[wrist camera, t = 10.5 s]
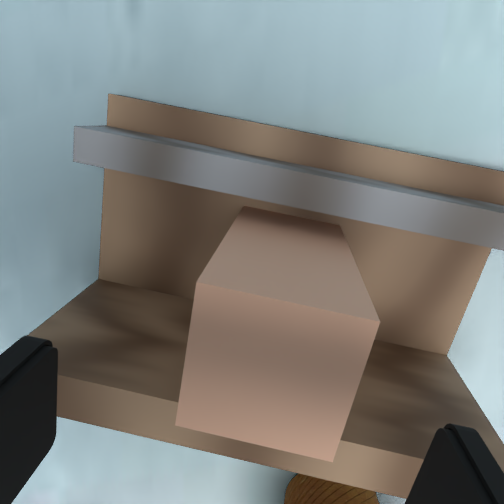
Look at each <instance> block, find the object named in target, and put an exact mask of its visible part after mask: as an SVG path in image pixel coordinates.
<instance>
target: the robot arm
mask: <svg viewBox="0 0 504 504" xmlns="http://www.w3.org/2000/svg"><path fill="white" fill-rule="evenodd" d="M57 377H58V350H57V348H54V347H53V345H52V342H51V341H50V340H47V339H42V338H37V337H32V336H24V337H22V338H20V339H19V340H18V341H17V342H16V343H14V344H13V345H12V346H11V347H9V348H8V349H7V350H6V351H5V352H3V353H2V354H1V355H0V504H11V503H12V502H13V500H14V499H15V498H16V496H17V495H18V494H19V492H20V491H21V489H22V488H23V487H24V485H25V484H26V482H27V481H28V480H29V478H30V477H31V475H32V474H33V473H34V471H35V470H36V468H37V467H38V466H39V464H40V463H41V461H42V460H43V459H44V457H45V456H46V455H47V453H48V452H49V450H50V449H51V447H52V445H53V443H54V440H55V436H56V418H57ZM405 504H504V473H503V471H502V469H501V468H500V466H499V465H498V463H497V461H496V460H495V458H494V457H493V455H492V454H491V452H490V450H489V449H488V447H487V446H486V444H485V442H484V441H483V439H482V438H481V436H480V434H479V433H478V432H477V431H476V430H475V429H473V428H470V427H465V426H460V425H456V424H451V423H449V424H446V425H445V426H444V428H439V429H438V430H437V431H436V433H435V435H434V438H433V440H432V442H431V445H430V447H429V449H428V451H427V454H426V456H425V458H424V461H423V463H422V465H421V468H420V470H419V472H418V474H417V477H416V479H415V481H414V484H413V486H412V488H411V491H410V493H409V495H408V497H407V500H406V502H405Z"/></svg>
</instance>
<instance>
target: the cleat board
mask: <svg viewBox="0 0 504 504" xmlns="http://www.w3.org/2000/svg"><path fill="white" fill-rule="evenodd" d="M73 162H78V163H83V164H87V165H92V166H97V167H102V168H104V185H103V204H102V222H101V240H100V259H99V277H98V280H96V281H95V282H94V283H93V284H91V285H90V286H89V287H88V288H86V289H85V290H84V291H83V292H81V293H80V294H79V295H77V296H76V297H75V298H74V299H72V300H71V301H70V302H69V303H67V304H66V305H65V306H64V307H62V308H61V309H60V310H59V311H57V312H56V313H55V314H54V315H52V316H51V317H50V318H49V319H47V320H46V321H45V322H44V323H42V324H41V325H40V326H39V327H37V328H36V329H35V330H34V331H32V332H31V333H30V334H28V335H27V336H32V337H37V338H42V339H47V340H50V341H51V342H52V345H53V347H54V348H57V350H58V377H57V416H58V417H62V418H66V419H71V420H75V421H79V422H83V423H88V424H92V425H96V426H100V427H105V428H109V429H113V430H117V431H121V432H126V433H130V434H134V435H138V436H143V437H147V438H151V439H155V440H160V441H164V442H168V443H172V444H176V445H181V446H185V447H189V448H193V449H198V450H202V451H206V452H210V453H215V454H219V455H223V456H227V457H232V458H236V459H240V460H244V461H248V462H253V463H257V464H261V465H265V466H270V467H274V468H278V469H282V470H287V471H291V472H295V473H299V474H303V475H308V476H312V477H316V478H320V479H325V480H329V481H333V482H337V483H342V484H346V485H350V486H354V487H358V488H363V489H367V490H371V491H375V492H380V493H384V494H388V495H392V496H397V497H401V498H405V499H407V497H408V495H409V493H410V491H411V488H412V486H413V484H414V481H415V479H416V477H417V474H418V472H419V470H420V468H421V465H422V463H423V461H424V458H425V456H426V454H427V451H428V449H429V447H430V445H431V442H432V440H433V438H434V435H435V433H436V431H437V430H438V429H439V428H444V426H445V425H446V424H449V423H451V424H456V425H460V426H465V427H470V428H473V429H475V430H476V431H477V432H478V433H479V434H480V436H481V438H482V439H483V441H484V442H485V444H486V446H487V447H488V449H489V450H490V452H491V454H492V455H493V457H494V458H495V460H496V461H497V463H498V465H499V466H500V468H501V469H502V471H503V473H504V444H503V442H502V441H501V439H500V438H499V436H498V434H497V433H496V431H495V430H494V428H493V427H492V425H491V424H490V422H489V420H488V419H487V417H486V416H485V414H484V413H483V411H482V410H481V408H480V406H479V405H478V403H477V402H476V400H475V399H474V397H473V396H472V394H471V392H470V391H469V389H468V388H467V386H466V385H465V383H464V382H463V380H462V378H461V377H460V375H459V374H458V372H457V371H456V369H455V367H454V366H453V364H452V363H451V361H450V360H449V358H448V357H447V353H448V351H449V349H450V346H451V344H452V342H453V339H454V337H455V334H456V332H457V330H458V327H459V325H460V323H461V320H462V318H463V315H464V313H465V311H466V308H467V306H468V304H469V301H470V299H471V296H472V294H473V292H474V289H475V287H476V284H477V282H478V280H479V277H480V275H481V273H482V270H483V268H484V265H485V263H486V261H487V258H488V256H489V254H490V251H491V249H492V248H494V249H498V250H503V251H504V171H498V170H493V169H488V168H483V167H478V166H473V165H468V164H463V163H458V162H453V161H448V160H443V159H438V158H433V157H428V156H423V155H418V154H413V153H408V152H403V151H398V150H393V149H388V148H382V147H377V146H372V145H367V144H362V143H357V142H352V141H347V140H342V139H337V138H332V137H327V136H322V135H317V134H312V133H307V132H302V131H297V130H292V129H287V128H282V127H277V126H272V125H266V124H261V123H256V122H251V121H246V120H241V119H236V118H231V117H226V116H221V115H216V114H211V113H206V112H201V111H196V110H191V109H186V108H181V107H176V106H171V105H166V104H161V103H156V102H150V101H145V100H140V99H135V98H130V97H125V96H120V95H114V94H108V112H107V126H74V150H73ZM243 206H249V207H253V208H258V209H263V210H268V211H273V212H277V213H282V214H287V215H292V216H297V217H302V218H306V219H311V220H316V221H321V222H326V223H331V224H335V225H340V227H341V229H342V231H343V234H344V236H345V239H346V241H347V243H348V246H349V248H350V251H351V253H352V255H353V258H354V260H355V263H356V265H357V267H358V270H359V272H360V274H361V277H362V279H363V282H364V284H365V286H366V289H367V291H368V294H369V296H370V298H371V301H372V303H373V306H374V308H375V310H376V313H377V315H378V318H379V320H380V324H379V327H378V330H377V333H376V336H375V339H374V342H373V345H372V348H371V351H370V354H369V357H368V360H367V363H366V365H365V368H364V371H363V374H362V377H361V380H360V383H359V386H358V389H357V392H356V395H355V398H354V401H353V404H352V407H351V410H350V413H349V416H348V418H347V421H346V424H345V427H344V430H343V433H342V436H341V439H340V442H339V445H338V448H337V451H336V454H335V457H334V460H333V462H329V461H325V460H320V459H316V458H312V457H308V456H303V455H299V454H295V453H290V452H286V451H282V450H278V449H273V448H269V447H265V446H260V445H256V444H252V443H248V442H243V441H239V440H235V439H231V438H226V437H222V436H218V435H213V434H209V433H205V432H201V431H196V430H192V429H188V428H184V427H179V426H175V422H176V415H177V409H178V402H179V395H180V389H181V382H182V375H183V368H184V362H185V355H186V348H187V342H188V335H189V328H190V321H191V315H192V308H193V301H194V295H195V288H196V282H197V280H198V279H199V277H200V275H201V274H202V272H203V270H204V269H205V267H206V266H207V264H208V262H209V261H210V259H211V258H212V256H213V254H214V253H215V251H216V250H217V248H218V246H219V245H220V243H221V242H222V240H223V238H224V237H225V235H226V234H227V232H228V230H229V229H230V227H231V226H232V224H233V222H234V221H235V219H236V217H237V216H238V214H239V213H240V211H241V209H242V208H243Z"/></svg>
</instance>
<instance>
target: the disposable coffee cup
mask: <svg viewBox="0 0 504 504" xmlns="http://www.w3.org/2000/svg"><path fill="white" fill-rule="evenodd" d="M284 504H379V502H378V499H377V496H376V492H375V491H371V490H367V489H363V488H358V487H354V486H350V485H346V484H342V483H337V482H333V481H329V480H325V479H320V478H316V477H312V476H308V475H303V474H297V475H296V476H295V477H294V478H293V479H292V480H291V481H290V482H289V484H288V486H287V489H286V493H285V500H284Z"/></svg>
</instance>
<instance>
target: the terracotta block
mask: <svg viewBox="0 0 504 504" xmlns="http://www.w3.org/2000/svg"><path fill="white" fill-rule="evenodd" d="M379 324H380V320H379V318H378V315H377V313H376V310H375V308H374V306H373V303H372V301H371V298H370V296H369V294H368V291H367V289H366V286H365V284H364V282H363V279H362V277H361V274H360V272H359V270H358V267H357V265H356V263H355V260H354V258H353V255H352V253H351V251H350V248H349V246H348V243H347V241H346V239H345V236H344V234H343V231H342V229H341V227H340V225H335V224H331V223H326V222H321V221H316V220H311V219H306V218H302V217H297V216H292V215H287V214H282V213H277V212H273V211H268V210H263V209H258V208H253V207H249V206H243V208H242V209H241V211H240V213H239V214H238V216H237V217H236V219H235V221H234V222H233V224H232V226H231V227H230V229H229V230H228V232H227V234H226V235H225V237H224V238H223V240H222V242H221V243H220V245H219V246H218V248H217V250H216V251H215V253H214V254H213V256H212V258H211V259H210V261H209V262H208V264H207V266H206V267H205V269H204V270H203V272H202V274H201V275H200V277H199V279H198V280H197V282H196V288H195V295H194V301H193V308H192V315H191V321H190V328H189V335H188V342H187V348H186V355H185V362H184V368H183V375H182V382H181V389H180V395H179V402H178V409H177V415H176V422H175V426H179V427H184V428H188V429H192V430H196V431H201V432H205V433H209V434H213V435H218V436H222V437H226V438H231V439H235V440H239V441H243V442H248V443H252V444H256V445H260V446H265V447H269V448H273V449H278V450H282V451H286V452H290V453H295V454H299V455H303V456H308V457H312V458H316V459H320V460H325V461H329V462H333V460H334V457H335V454H336V451H337V448H338V445H339V442H340V439H341V436H342V433H343V430H344V427H345V424H346V421H347V418H348V416H349V413H350V410H351V407H352V404H353V401H354V398H355V395H356V392H357V389H358V386H359V383H360V380H361V377H362V374H363V371H364V368H365V365H366V363H367V360H368V357H369V354H370V351H371V348H372V345H373V342H374V339H375V336H376V333H377V330H378V327H379Z"/></svg>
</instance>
